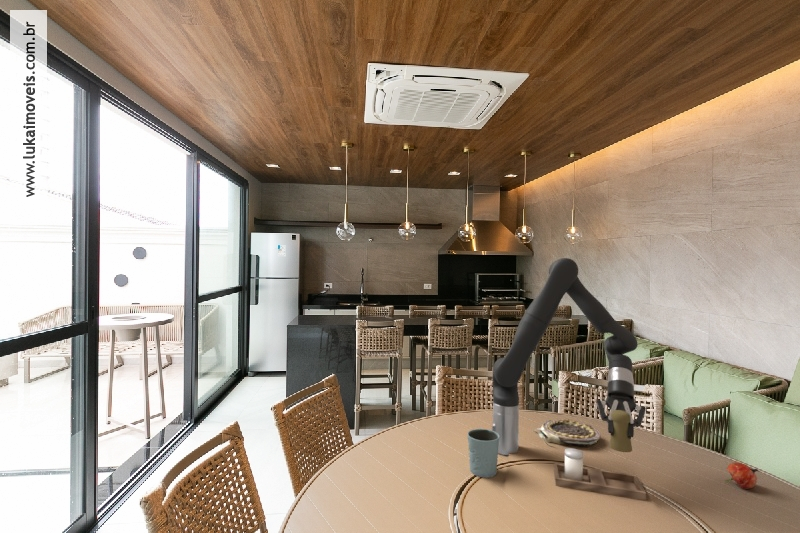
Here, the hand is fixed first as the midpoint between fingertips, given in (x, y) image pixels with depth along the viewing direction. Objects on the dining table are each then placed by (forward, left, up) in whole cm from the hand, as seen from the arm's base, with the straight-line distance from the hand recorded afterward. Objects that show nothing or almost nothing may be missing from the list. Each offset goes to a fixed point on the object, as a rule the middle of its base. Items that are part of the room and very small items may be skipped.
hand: (620, 435), depth 121 cm
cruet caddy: (-6, +2, -17) cm, 18 cm away
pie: (-10, +40, -18) cm, 45 cm away
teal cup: (-40, 0, -17) cm, 44 cm away
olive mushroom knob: (0, +2, -5) cm, 5 cm away
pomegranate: (+37, +18, -17) cm, 44 cm away
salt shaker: (-13, +2, -16) cm, 21 cm away
